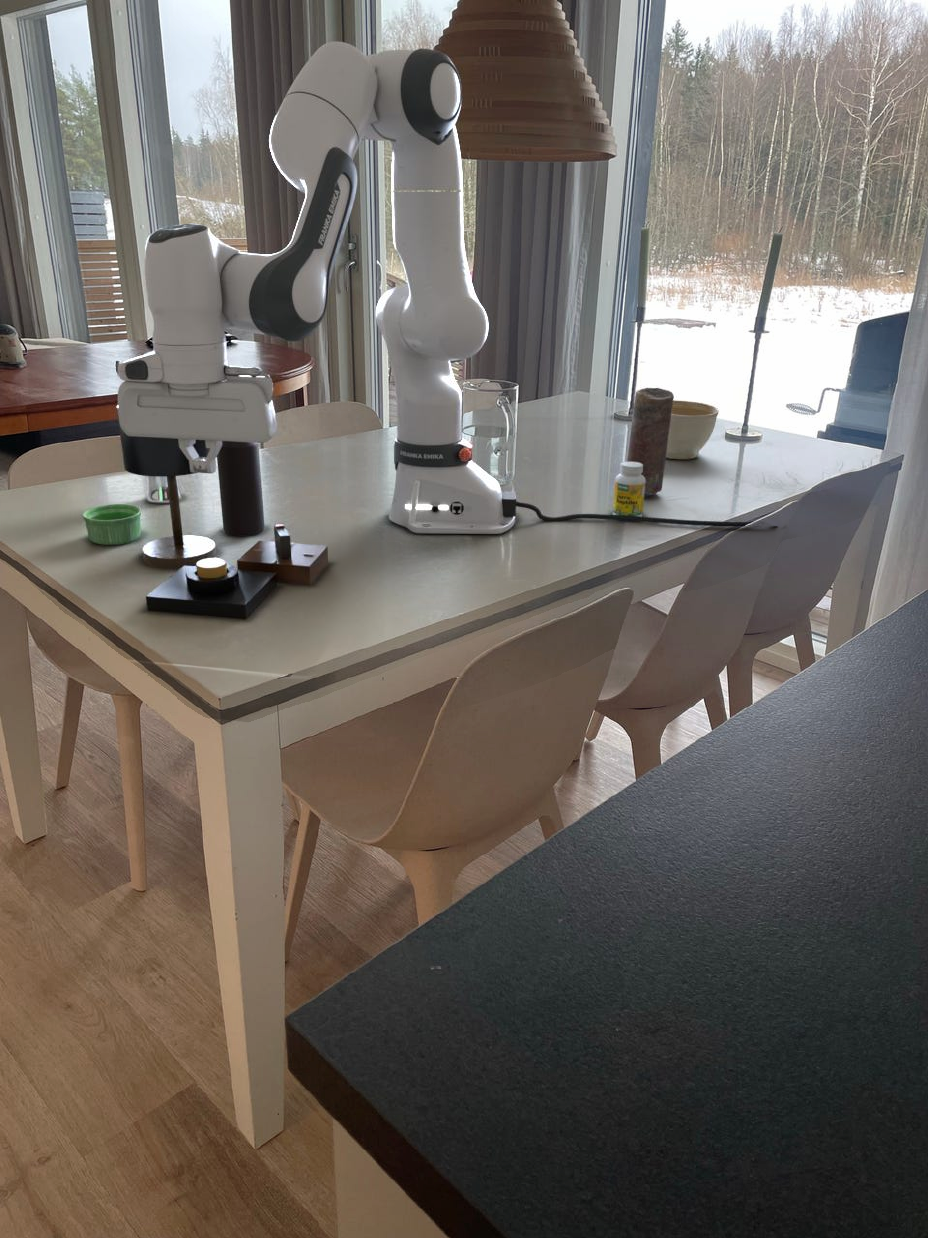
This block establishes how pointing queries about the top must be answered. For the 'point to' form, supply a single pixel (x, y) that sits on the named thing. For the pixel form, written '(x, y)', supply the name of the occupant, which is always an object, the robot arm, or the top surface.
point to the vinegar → (240, 488)
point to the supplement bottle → (629, 490)
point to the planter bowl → (689, 428)
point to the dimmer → (286, 562)
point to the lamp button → (211, 568)
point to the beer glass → (159, 490)
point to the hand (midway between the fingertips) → (203, 472)
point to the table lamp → (169, 462)
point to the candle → (651, 435)
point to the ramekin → (113, 523)
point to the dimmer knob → (282, 541)
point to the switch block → (212, 593)
